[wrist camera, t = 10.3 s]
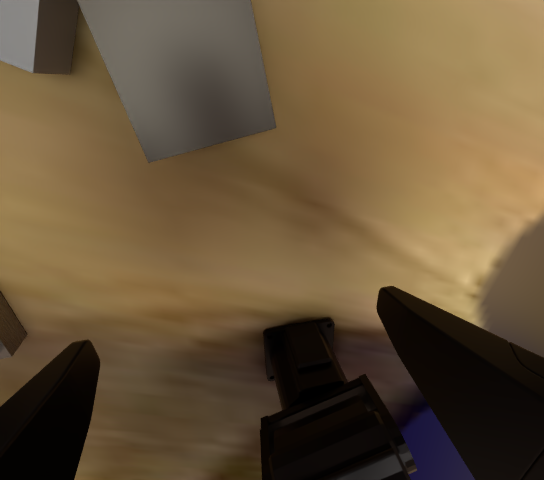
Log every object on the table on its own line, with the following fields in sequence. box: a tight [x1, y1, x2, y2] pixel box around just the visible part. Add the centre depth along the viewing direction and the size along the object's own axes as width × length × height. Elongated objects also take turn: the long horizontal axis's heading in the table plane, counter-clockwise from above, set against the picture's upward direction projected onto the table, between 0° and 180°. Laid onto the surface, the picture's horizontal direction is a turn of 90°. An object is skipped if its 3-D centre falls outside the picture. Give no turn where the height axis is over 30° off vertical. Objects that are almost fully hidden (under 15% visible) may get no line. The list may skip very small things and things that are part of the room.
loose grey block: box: [77, 0, 276, 163], centre depth 14 cm, size 8×6×5 cm
